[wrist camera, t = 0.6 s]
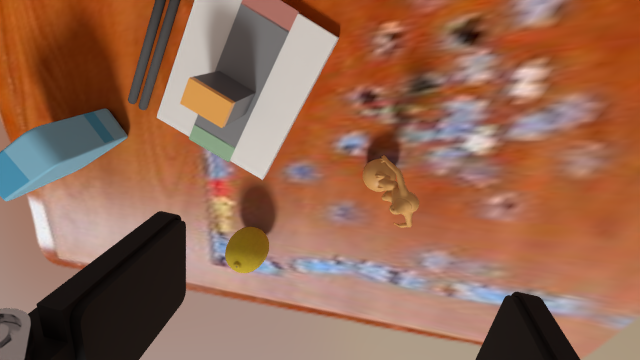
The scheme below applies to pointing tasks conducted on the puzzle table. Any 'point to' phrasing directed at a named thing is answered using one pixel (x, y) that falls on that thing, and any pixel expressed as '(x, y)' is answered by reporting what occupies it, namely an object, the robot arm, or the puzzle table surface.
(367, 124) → the puzzle table surface
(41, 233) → the puzzle table surface
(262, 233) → the lemon
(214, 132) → the panel
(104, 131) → the data package
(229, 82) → the toggle
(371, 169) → the figurine
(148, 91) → the cords
